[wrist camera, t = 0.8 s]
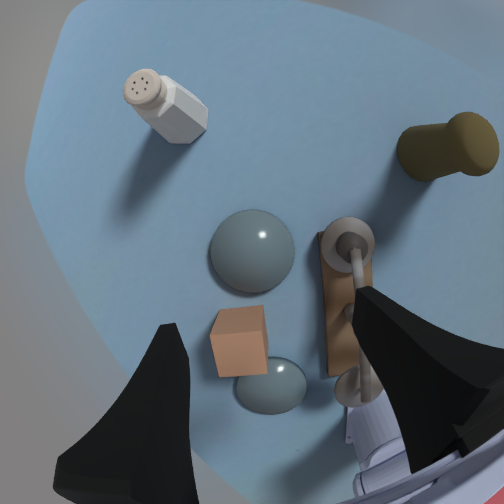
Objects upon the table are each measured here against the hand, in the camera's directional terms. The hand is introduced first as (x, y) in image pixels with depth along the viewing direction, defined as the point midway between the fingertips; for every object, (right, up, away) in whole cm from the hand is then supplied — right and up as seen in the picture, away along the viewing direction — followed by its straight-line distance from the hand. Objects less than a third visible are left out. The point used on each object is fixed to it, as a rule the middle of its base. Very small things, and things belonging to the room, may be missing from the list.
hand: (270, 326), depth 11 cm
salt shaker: (-8, +16, +16) cm, 24 cm away
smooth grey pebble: (+2, -13, +21) cm, 25 cm away
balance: (+9, -3, +19) cm, 21 cm away
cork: (+17, +13, +15) cm, 26 cm away
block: (-1, -5, +20) cm, 21 cm away
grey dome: (-1, +3, +18) cm, 18 cm away
